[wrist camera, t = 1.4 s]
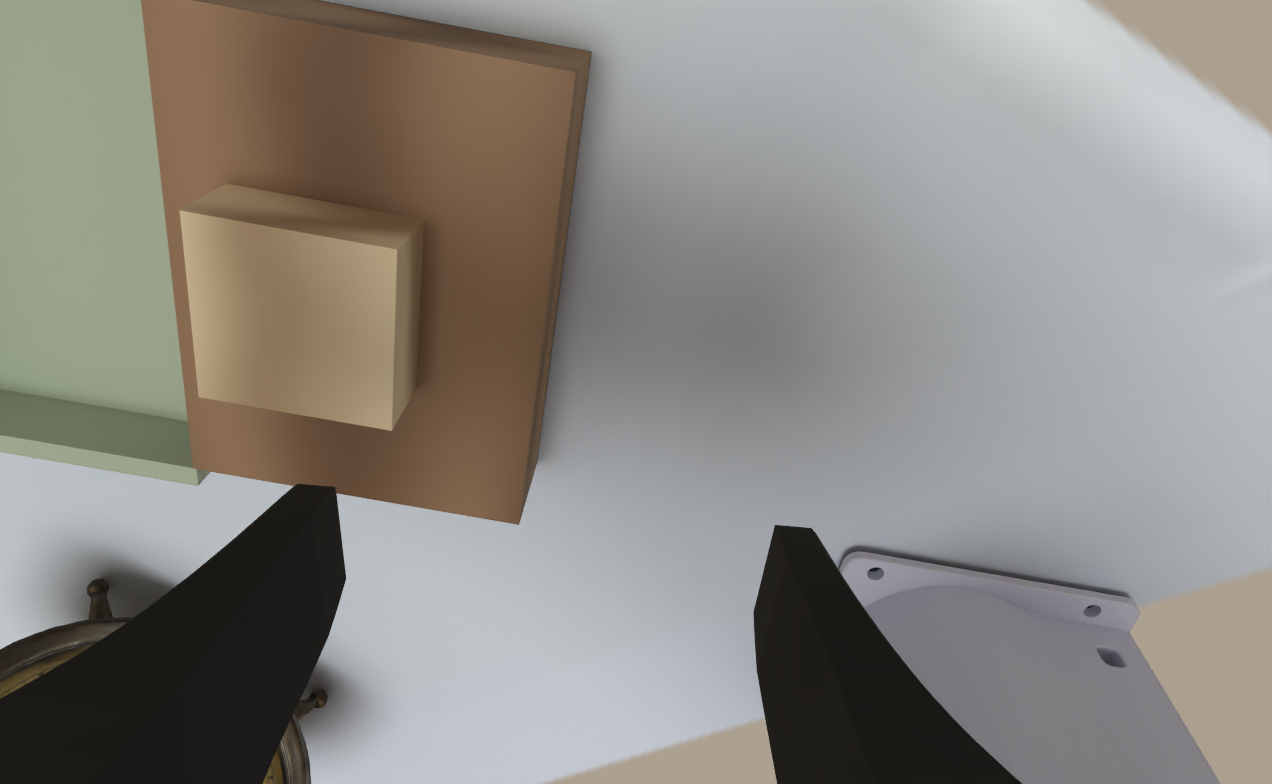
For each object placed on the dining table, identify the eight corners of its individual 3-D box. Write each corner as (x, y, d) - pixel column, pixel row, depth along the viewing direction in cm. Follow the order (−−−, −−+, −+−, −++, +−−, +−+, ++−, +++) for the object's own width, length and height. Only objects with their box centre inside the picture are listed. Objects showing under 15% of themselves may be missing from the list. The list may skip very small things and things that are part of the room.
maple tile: (424, 219, 19) (397, 249, 18) (416, 389, 22) (391, 431, 20) (226, 183, 19) (179, 210, 17) (239, 357, 21) (198, 397, 20)
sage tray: (200, -70, 19) (138, -67, 17) (239, 438, 26) (198, 485, 24) (-154, -136, 19) (-263, -143, 17) (-21, 393, 26) (-86, 437, 24)
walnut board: (591, 51, 20) (575, 72, 18) (536, 463, 26) (518, 524, 23) (212, -20, 20) (140, -10, 17) (244, 412, 26) (192, 468, 23)
